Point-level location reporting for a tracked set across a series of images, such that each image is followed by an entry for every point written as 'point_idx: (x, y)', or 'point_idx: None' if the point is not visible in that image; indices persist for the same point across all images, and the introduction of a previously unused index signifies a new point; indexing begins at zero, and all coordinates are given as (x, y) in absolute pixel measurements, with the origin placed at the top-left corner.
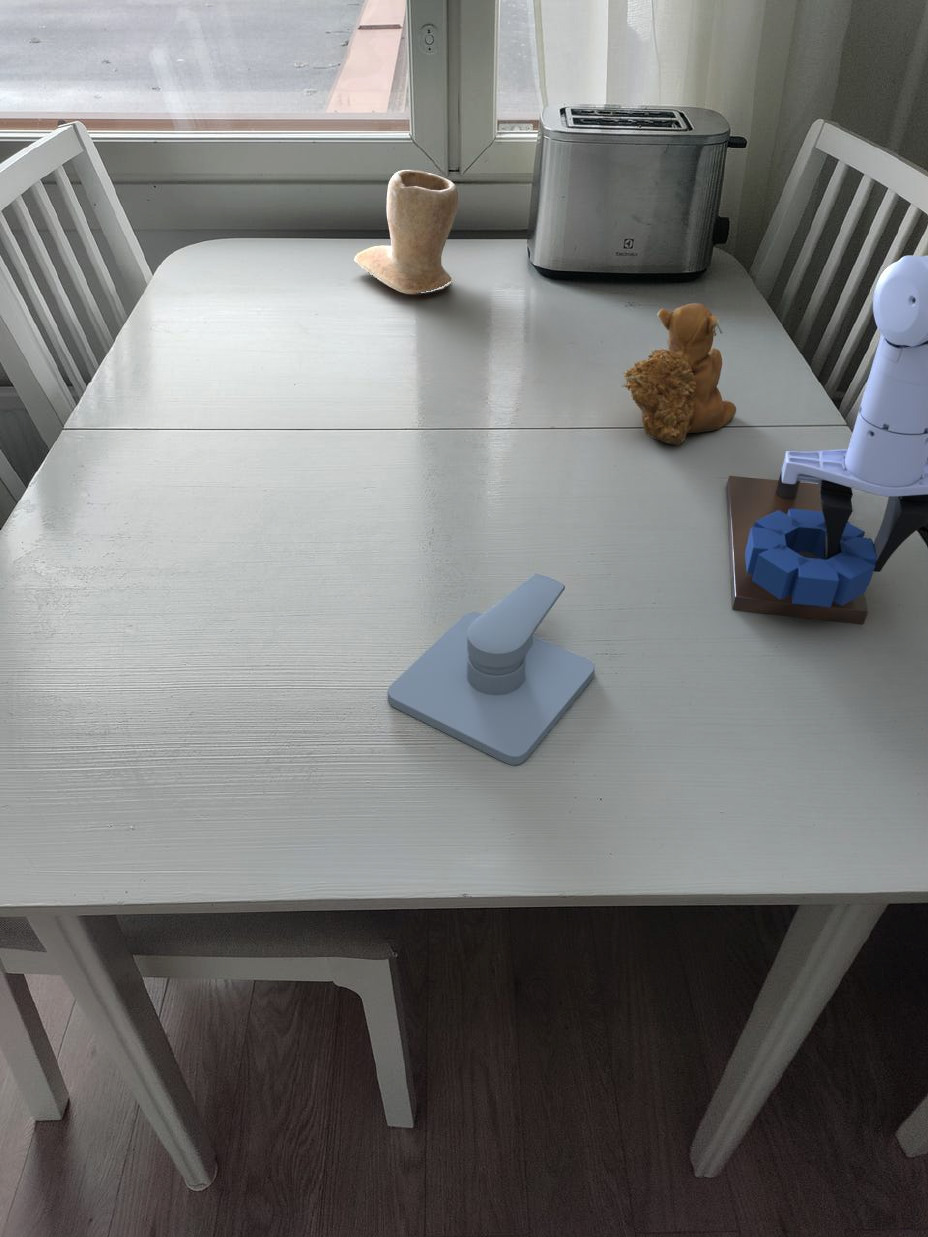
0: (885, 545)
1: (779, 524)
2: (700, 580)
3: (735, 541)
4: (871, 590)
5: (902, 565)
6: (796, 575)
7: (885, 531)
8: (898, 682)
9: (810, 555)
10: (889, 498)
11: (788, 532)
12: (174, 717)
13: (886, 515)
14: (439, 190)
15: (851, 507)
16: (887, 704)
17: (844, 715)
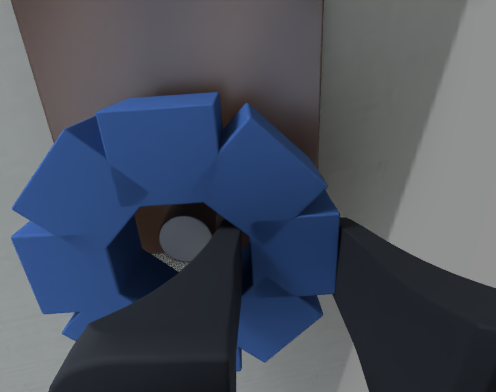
0: (354, 344)
1: (83, 207)
2: (25, 176)
3: (40, 75)
4: (340, 132)
5: (427, 21)
6: None
7: (366, 321)
8: (335, 324)
9: (193, 228)
10: (419, 316)
11: (114, 238)
12: None
13: (386, 302)
14: None
15: None
16: (313, 357)
17: (262, 379)
